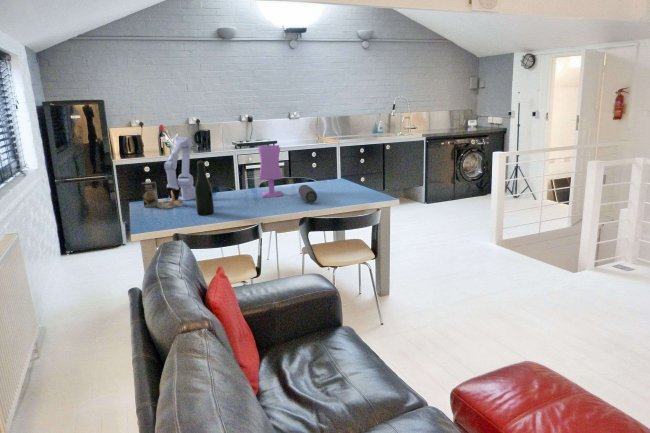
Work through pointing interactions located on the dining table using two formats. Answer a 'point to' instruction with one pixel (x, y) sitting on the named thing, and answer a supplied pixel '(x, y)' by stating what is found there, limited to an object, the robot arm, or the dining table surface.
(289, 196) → the dining table surface
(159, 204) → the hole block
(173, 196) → the dowel
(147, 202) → the coffee box
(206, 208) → the beer bottle
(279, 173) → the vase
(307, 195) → the bluetooth speaker
